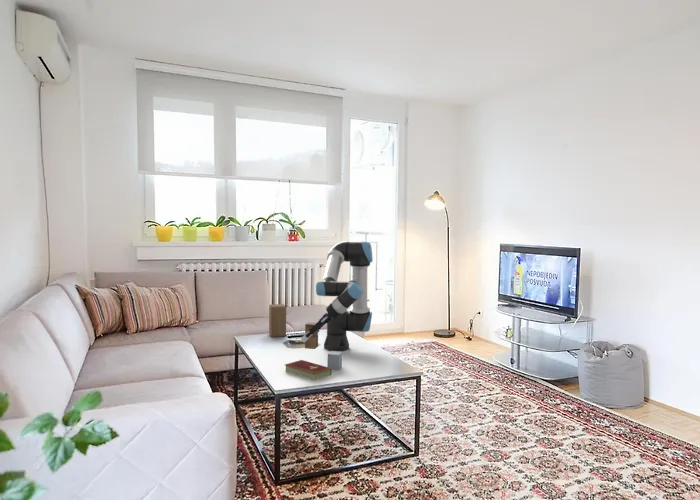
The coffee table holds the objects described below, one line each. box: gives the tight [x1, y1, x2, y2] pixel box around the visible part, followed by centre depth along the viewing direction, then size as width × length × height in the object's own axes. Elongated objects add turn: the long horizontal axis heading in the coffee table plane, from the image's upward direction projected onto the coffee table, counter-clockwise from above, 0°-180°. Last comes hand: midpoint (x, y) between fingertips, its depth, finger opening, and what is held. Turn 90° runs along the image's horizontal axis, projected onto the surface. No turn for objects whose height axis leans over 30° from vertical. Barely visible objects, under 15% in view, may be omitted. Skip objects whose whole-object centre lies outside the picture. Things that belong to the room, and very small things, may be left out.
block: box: [268, 303, 287, 338], centre depth 316 cm, size 10×10×20 cm
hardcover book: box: [284, 359, 333, 381], centre depth 238 cm, size 12×21×4 cm, turn 49°
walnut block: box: [304, 321, 319, 350], centre depth 237 cm, size 5×5×12 cm
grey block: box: [326, 350, 343, 371], centre depth 246 cm, size 6×6×8 cm
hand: (304, 339), depth 238 cm, fingers closed on walnut block, 5 cm apart
